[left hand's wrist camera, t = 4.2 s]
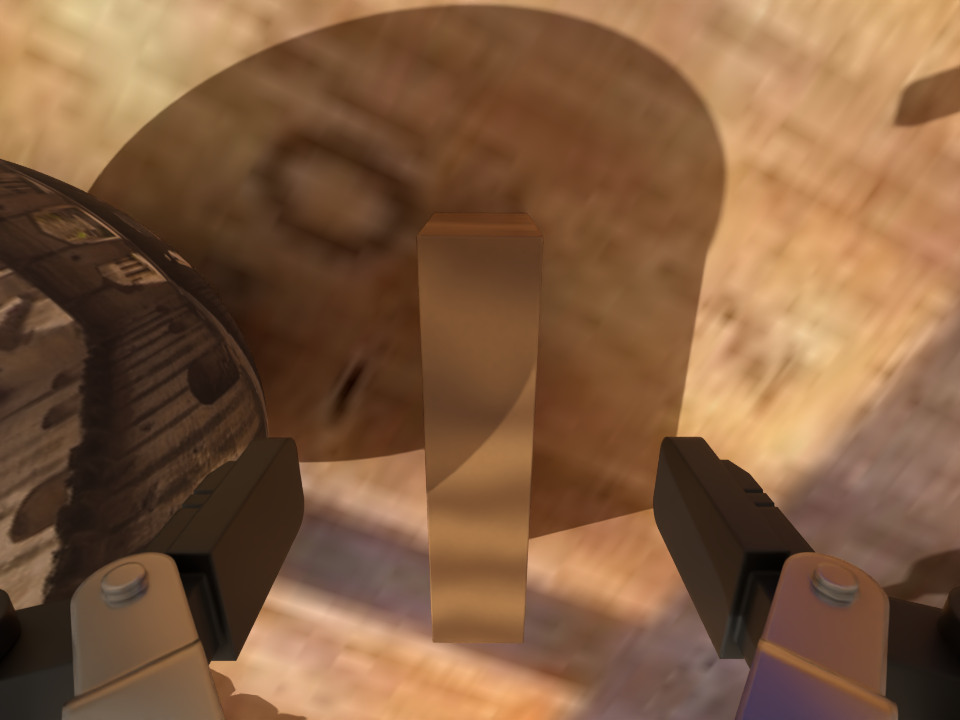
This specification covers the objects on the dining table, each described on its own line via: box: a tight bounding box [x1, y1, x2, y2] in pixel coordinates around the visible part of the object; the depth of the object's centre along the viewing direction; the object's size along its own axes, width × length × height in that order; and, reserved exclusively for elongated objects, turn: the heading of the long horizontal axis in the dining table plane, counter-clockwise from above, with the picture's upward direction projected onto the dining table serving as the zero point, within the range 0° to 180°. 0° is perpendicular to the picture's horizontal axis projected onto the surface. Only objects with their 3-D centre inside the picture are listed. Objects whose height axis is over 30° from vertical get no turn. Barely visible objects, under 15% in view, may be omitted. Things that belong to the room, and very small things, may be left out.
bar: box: [416, 213, 543, 643], centre depth 31 cm, size 24×5×8 cm, turn 0°
